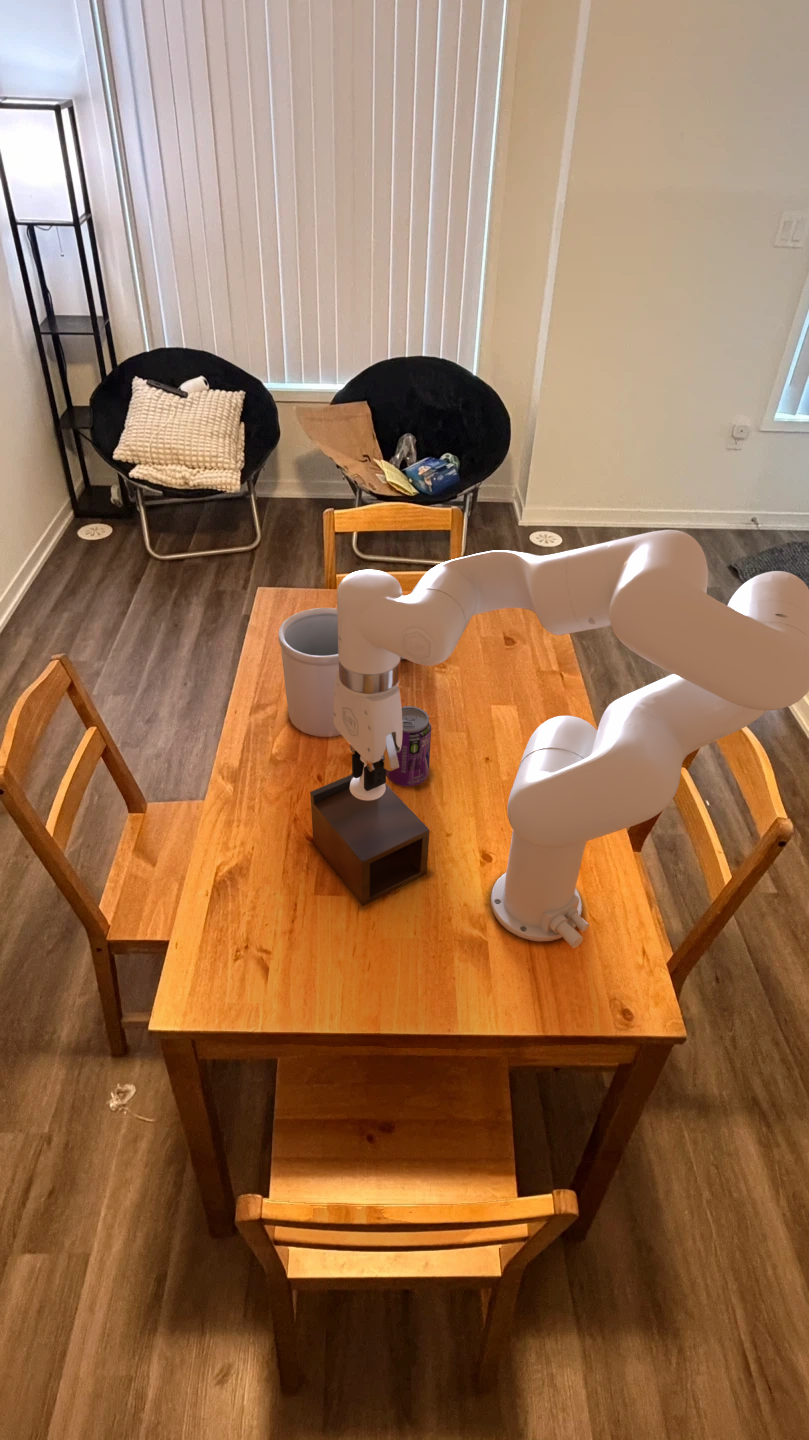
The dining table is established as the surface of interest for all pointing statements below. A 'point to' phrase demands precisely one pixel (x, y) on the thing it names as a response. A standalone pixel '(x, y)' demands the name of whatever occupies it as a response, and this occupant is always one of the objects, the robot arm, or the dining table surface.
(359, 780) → the chess piece
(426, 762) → the beverage can
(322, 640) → the utensil holder
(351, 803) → the open box
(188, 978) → the dining table surface
